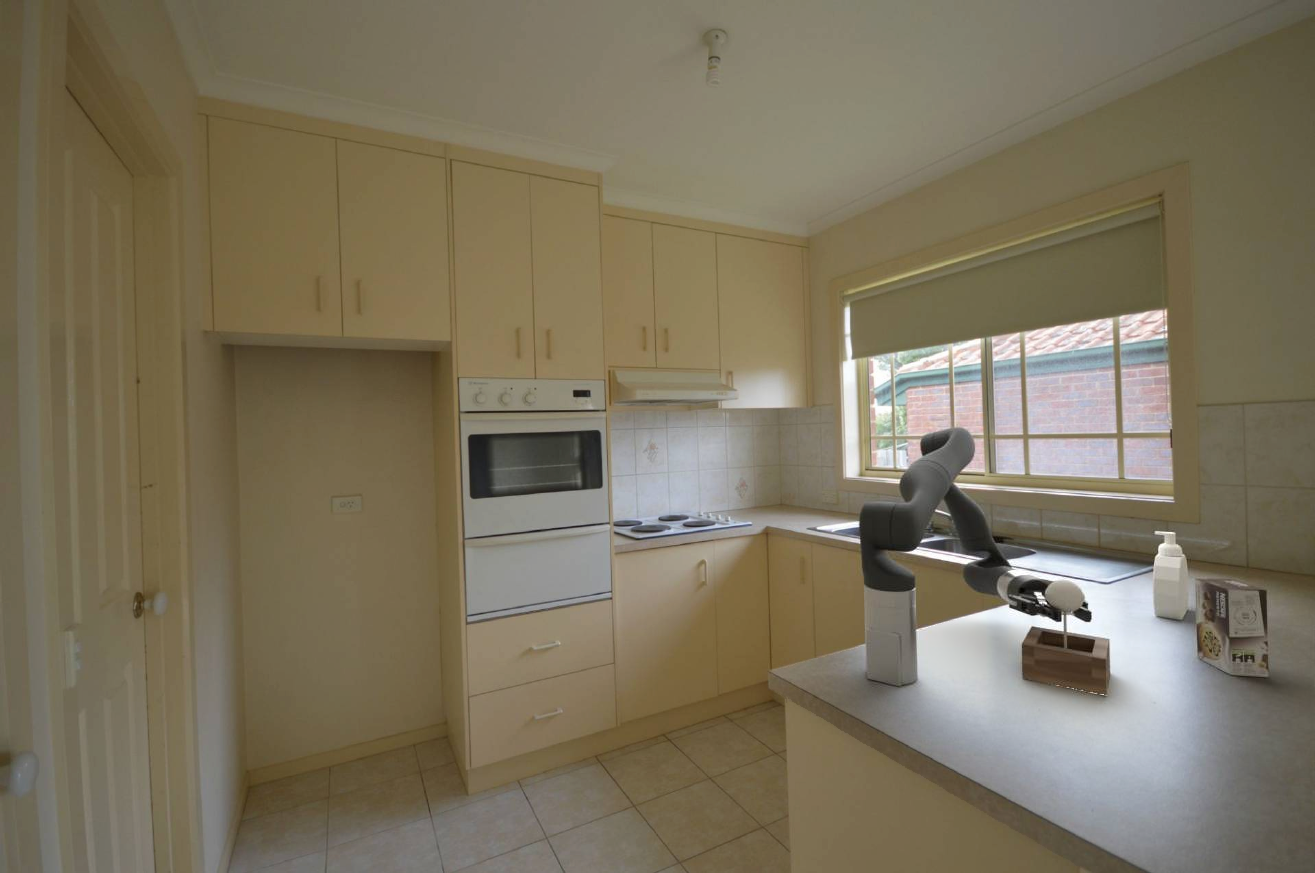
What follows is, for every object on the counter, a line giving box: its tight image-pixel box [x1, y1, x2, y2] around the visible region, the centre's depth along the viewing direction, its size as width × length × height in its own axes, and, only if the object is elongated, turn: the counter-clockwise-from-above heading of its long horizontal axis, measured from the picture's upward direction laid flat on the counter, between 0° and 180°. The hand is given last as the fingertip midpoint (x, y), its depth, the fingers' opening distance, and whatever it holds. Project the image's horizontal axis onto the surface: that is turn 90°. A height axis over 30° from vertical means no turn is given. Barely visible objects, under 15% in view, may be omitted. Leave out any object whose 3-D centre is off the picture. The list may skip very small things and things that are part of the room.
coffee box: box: [1194, 578, 1270, 678], centre depth 112 cm, size 9×6×16 cm
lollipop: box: [1045, 579, 1086, 649], centre depth 110 cm, size 6×6×15 cm
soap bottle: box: [1152, 530, 1189, 621], centre depth 145 cm, size 16×5×20 cm, turn 133°
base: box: [1021, 625, 1111, 696], centre depth 110 cm, size 12×12×6 cm
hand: (1074, 616), depth 107 cm, fingers open, 4 cm apart
